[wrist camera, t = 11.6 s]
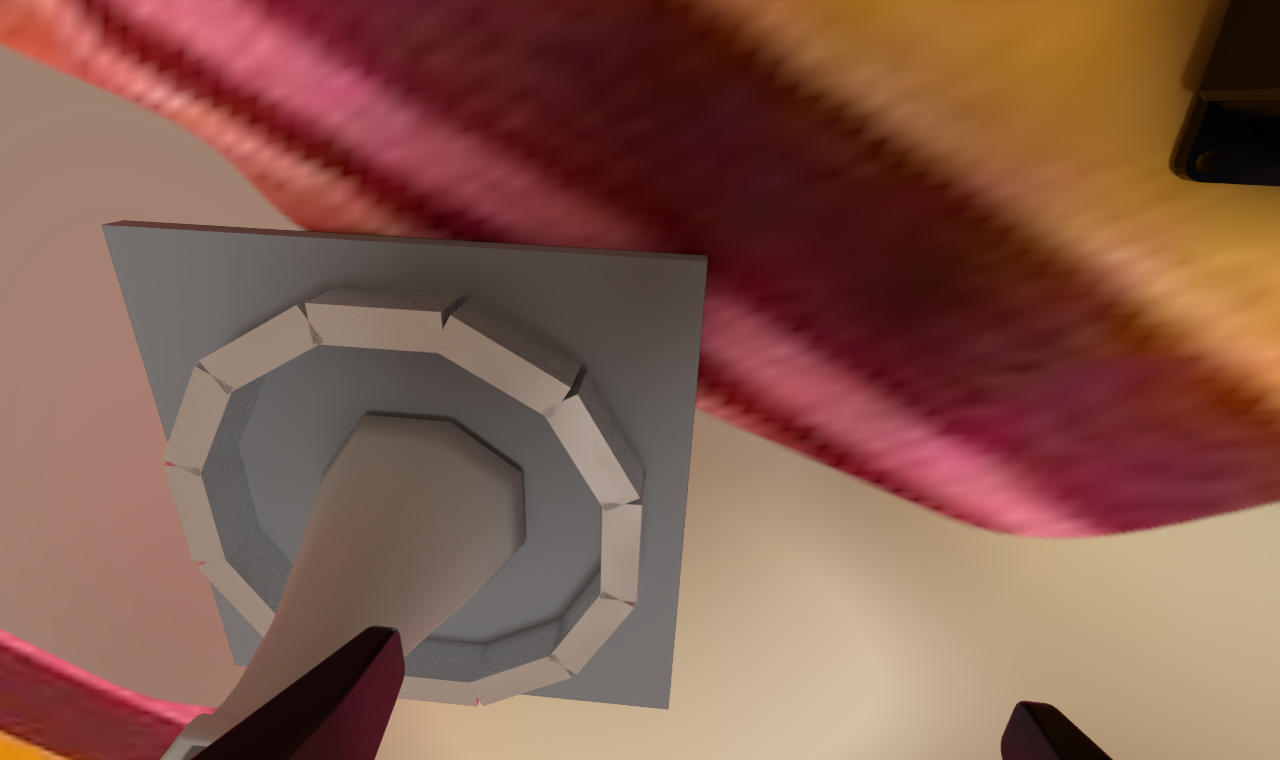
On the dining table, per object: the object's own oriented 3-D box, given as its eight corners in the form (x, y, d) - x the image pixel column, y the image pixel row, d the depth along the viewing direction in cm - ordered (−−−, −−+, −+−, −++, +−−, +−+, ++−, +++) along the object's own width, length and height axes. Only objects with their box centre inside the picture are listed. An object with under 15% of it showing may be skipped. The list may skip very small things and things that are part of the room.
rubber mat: (707, 255, 18) (707, 261, 17) (669, 692, 25) (668, 709, 25) (124, 220, 19) (101, 224, 18) (248, 649, 26) (235, 665, 26)
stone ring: (655, 306, 18) (651, 326, 16) (634, 680, 24) (630, 722, 23) (158, 274, 19) (107, 289, 17) (260, 643, 25) (230, 680, 23)
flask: (499, 609, 23) (373, 932, 14) (312, 544, 23) (56, 836, 14) (558, 456, 20) (446, 739, 11) (345, 377, 20) (46, 607, 11)
